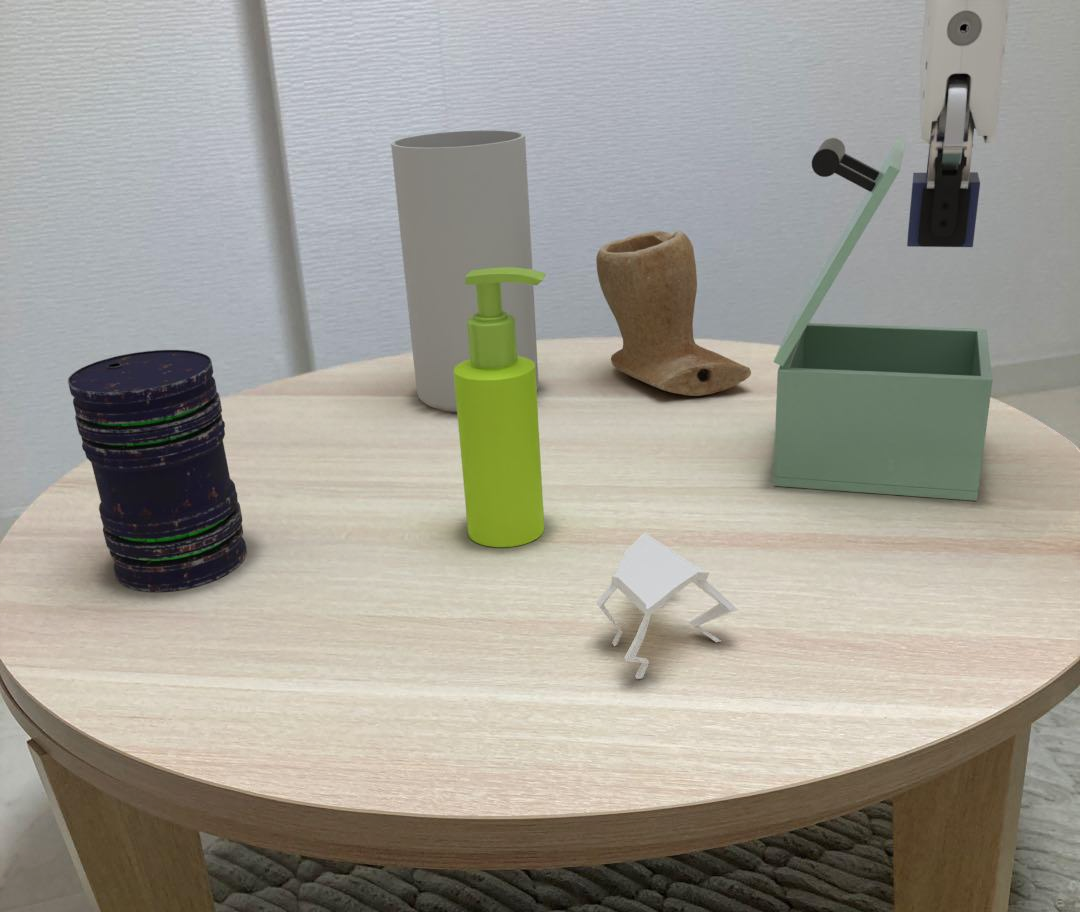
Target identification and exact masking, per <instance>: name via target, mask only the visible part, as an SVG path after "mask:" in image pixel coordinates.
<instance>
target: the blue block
mask: <svg viewBox="0 0 1080 912" xmlns="http://www.w3.org/2000/svg"><path fill="white" fill-rule="evenodd" d="M927 178H928V173H927V172H913V174H912V186H911V197H910V208H909V217H908V218H909V219H908V229H907V243H906V246H907V247H910V248H911V247H912V248H914V247H916V248H917V247H921V248H928V247H927V246H920V245H919V244H918V233H919V223H920V212H921V202H922V191H923V188H927ZM935 179H936V177H935ZM934 188H935V187H934ZM968 188H971V194H970V203H969V212H968V220H967V229H966V238H965V243H964V245H963V246H961V247H960V248H973V247H974V241H975V231H976V224H977V223H976V222H977V214H978V207H979V198H980V197H979V196H980V188H981V180H980V176H979V173H978V172H976V171H970V175H969V184H968Z"/></svg>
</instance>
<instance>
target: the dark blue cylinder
mask: <svg viewBox="0 0 1080 912" xmlns="http://www.w3.org/2000/svg"><path fill="white" fill-rule="evenodd" d="M213 375H214V367H213V363H212V359H211V357H210V356H209V355H207V354H205V353H203V352H200V351H199V352H198V351H195V350H187V349H156V350H155V349H154V350H145V351H137V352H131V353H126V354H121V355H116V356H112V357H107V358H104V359H101V360H98V361H95V362H92V363H90V364H86V365H85V366H83V367H81V368H79V369H77V370H75V371H74V372H72V373H71V374H70V376H69V377H68V379H67V384H68V389H69V393H70V395H71V396H72V397H73V399H72V405H73V408H74V412H75V415H74V420H75V423H76V427H77V431H78V434H79V436H80V438H81V442H82V443H81V444H82V445H81V448H82V451H84V453H85V454H84V455H85V457H86V459H87V460H88V461H89V462H90V463H91V467H92V472H93V475H94V480H95V483H96V487H97V491H98V495H99V500H100V503H99V505H98V511H99V515H100V520H101V523H102V533H103V537H104V541H105V544H106V547H107V549H108V550H109V556H110V558H111V559H112V561H113V571H114V575H115V578H116V580H117V581H118V582H119V583H120V584H121V585H123V586H124V587H127V588H129V589H132V590H135V591H142V592H151V593H153V592H154V593H159V592H174V591H180V590H181V591H182V590H187V589H190V588H195V587H200V586H202V585H205V584H209V583H211V582H214V581H216V580H218V579H220V578H222V577H224V576H226V575H228V574H230V573H232V572H233V571H235V569H237V568H238V567H239V566H241V564H242V563H243V562H244V561H245V559H246V557H247V554H248V549H247V544H246V541H245V539H244V537H243V535H244V528H243V515H242V514H243V513H242V509H241V504H240V502H239V500H238V492H237V490H236V484H235V482H234V480H233V479H232V478H231V476H230V471H229V466H228V461H227V455H226V449H225V445H224V438H225V435H226V432H225V427H226V423H225V420H224V419H223V414H222V413H223V407H222V402H221V396H220V393H219V392H218V388H217V383H216V379H215V377H214V376H213Z"/></svg>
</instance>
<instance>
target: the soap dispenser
mask: <svg viewBox="0 0 1080 912" xmlns="http://www.w3.org/2000/svg"><path fill="white" fill-rule="evenodd" d="M546 275H547V273H545V272H542V271H539V270H535V269H532V270H530V269H525V268H516V267H500V268H488V269H479V270H471V271H470V272H469V273H468V274H467V276H466V277H465V280H466V285H473V284H476V290H477V303H478V313H475V314H474V315H473V316H472V317H470V318H469V319H468V320H467V328H468V340H469V352H470V359H469V360H466V361H463V362H461V363H459V364H458V365H457V366H455V368H454V381H455V393H456V404H457V412H456V413H457V424H458V425H457V426H458V436H459V447H460V448H459V449H460V458H461V469H462V480H463V490H464V501H465V512H466V513H465V514H466V524H467V534H468V537H469V538H470V539H471V541H473V542H474V543H477V544H479V545H481V546H485V547H491V548H512V547H517V546H523V545H525V544H529V543H531V542H533V541H535V540H537V539H538V538H540V537H541V536H543V534H544V532H545V517H544V516H545V515H544V513H545V512H544V498H543V497H544V496H543V495H544V494H543V480H542V462H541V445H540V443H541V442H540V428H539V427H540V425H539V409H538V394H537V393H538V389H537V390H536V373H535V363H534V362H533V361H532V360H530V359H528V358H525V357H520V356H517V347H516V332H515V319H514V317H513V316H512V315H510V314H507V312H505V311H502V301H501V287H500V283H503V282H517V283H525V284H531V285H533V286H539V284H540V283H541V282H542V281H543V280H544V279H545V277H546Z"/></svg>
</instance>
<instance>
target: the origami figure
mask: <svg viewBox="0 0 1080 912" xmlns="http://www.w3.org/2000/svg"><path fill="white" fill-rule="evenodd" d="M709 575H710V572H709V571H707V570H705V569H703V568H700V567H698V566H696V565H695V564H693V562H691V561H689V560H687V559H685V558H684V557H683V556H681V554H678V553H677V552H675V551H674V550H672V549H671V548H670V547H667V546H666V545H665V544H663V543H662V542H660V541H659V540H657V539H656V538H654V537H653V536H651V535H650V531H647V532H645V533H643V534H642V535H640V537H639V538H638V539H637V540H635V541H634V542H633V543H632V544H631V545H630V546H628V548H627V549H626V550H625V551H624V553H623V555H622V557H621V559H620V561H619V565H618V567H617V570H616V572H615V573H614V574H613V575H611V581H610V585H609V586H608V588H607V589H606V590H605V591H604V592H603V594H602V595H601V596H600V597H599V598H598V600H597V601H596V605H597V606H598V608H599V609H600V610H601V611H602V612H603V614H604V615H605V616H606V618H607V619H608V620H609V621H610V622H611V624H612V626H614V628H615V629H616V630H617V632H616V634H615V636H614V638H613V640H612V642H611V644H612V645H613V646H614V647H615V646H616V647H617V645H618V644H619V641H620V640H621V637H622V635H623V630H622V629H621V628H620V626H619V625H618V624H617V622H616V620H615V619H614V618H613V616H612V615H611V613H610V611H609V610H608V609H607V607H606V605H605V604H606V603H607V601H608V600H609V599H610V598H611V596H612V595H613V594H614V592H615V591H616V590H617V589H618V590H619V591H620V592H621V593H622V594H623V596H626V597H627V599H628V600H629V601H630V602H632V604H633V605H634V606H635V607H636V608H637V609H638V610H639V611H641V613H642V614H644V615H643V618H642V620H641V622H640V624H639V627H638V630H637V632H636V634H635V637H634V639H633V640H632V643H631V645H630V646H629V648H628V650H627V652H626V654H625V655H624V660H625V662H629V663H639V664H640V666H639V668H638V669H637V671H636V673H635V675H634V677H635V678H636V680H641V679H644V676H645V674H646V672H647V669H648V666H649V664H650V661H649V660H648V658H646V657H638V656H637V655H638V653H639V650H640V648H641V645H642V644H643V641H644V639H645V636H646V633H647V630H648V627H649V624H650V620H651V617H652V615H653V614H655V613H656V612H657V611H658V610H659V609H660V608H661V607H663V606H664V605H665V604H666V603H667V602H668V601H669V600H671V598H673V597H674V596H675V595H676V594H678V593H679V592H680V591H682V590H683V589H684V588H686V587H687V586H689V585H690V584H694V585H695V586H697V587H698V588H699V589H700V590H702V591H703V592H704V593H705V594H707V595H708V596H710V597H711V598H712V599H713V600H714V601H716V602H717V603H718V604H716V605H714V606H713V607H711V608H710V609H708V610H706V611H705V612H703V613H702V614H700V615H698V616H697V617H695V618H694V619H692V620H690V621H689V622H688V624H689V625H690V626H692V627H693V628H695V629H696V630H698V631H699V632H700V633H702V634H703V635H705V636H706V637H708V638H710V640H712V641H714V642H715V643H720V642H722V640H721V639H719V638H718V637H716V636H715V635H714V634H712V633H710V632H709V631H707V630H706V629H704V628H703V627H702V625H703V624H706V623H709V622H711V621H714V620H716V619H718V618H721V617H723V616H726V615H728V614H731V613H733V612H736V611H738V610H739V608H737V607H736V606H735V605H734V604H733V603H732V602H730V600H728V599H727V598H726V597H725V596H724V595H723V594H722V593H720V591H719V590H717V589H716V588H715V587H714V586H713V585H712V584H711V583H709V581H708V580H707V579H708V577H709Z"/></svg>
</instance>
